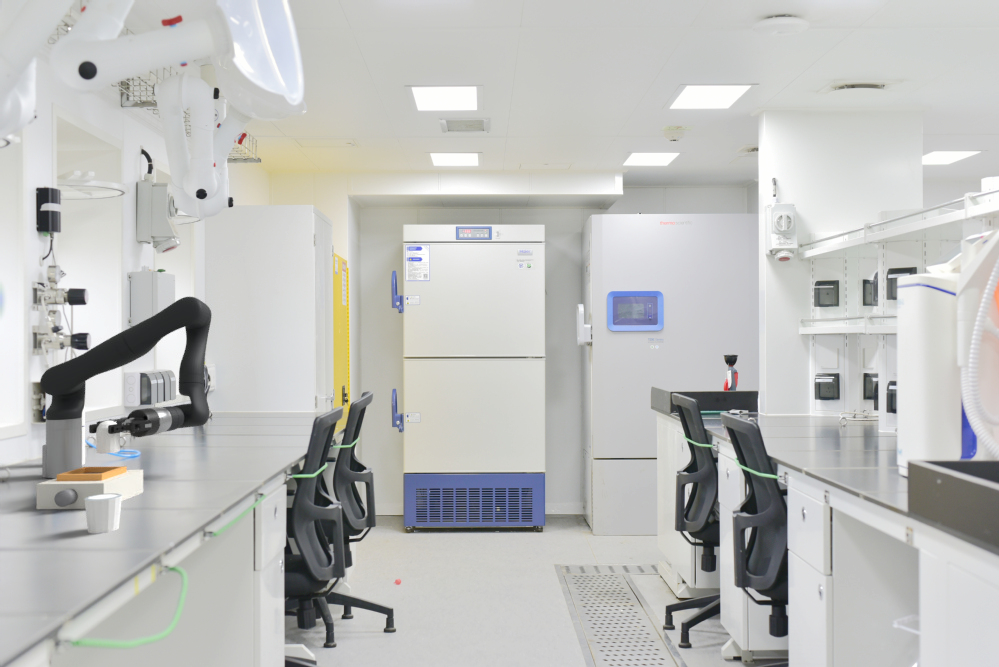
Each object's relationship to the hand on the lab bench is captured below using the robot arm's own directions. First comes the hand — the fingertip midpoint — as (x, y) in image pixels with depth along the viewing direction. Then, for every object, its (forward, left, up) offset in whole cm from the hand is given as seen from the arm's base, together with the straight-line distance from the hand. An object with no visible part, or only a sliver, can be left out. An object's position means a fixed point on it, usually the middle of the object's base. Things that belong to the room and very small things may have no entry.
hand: (100, 429), depth 173 cm
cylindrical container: (-40, +53, -18) cm, 69 cm away
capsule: (+1, +2, -6) cm, 7 cm away
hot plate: (-1, -2, -18) cm, 18 cm away
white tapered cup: (+18, -29, -18) cm, 38 cm away
